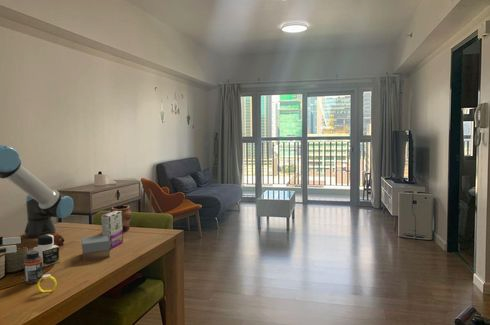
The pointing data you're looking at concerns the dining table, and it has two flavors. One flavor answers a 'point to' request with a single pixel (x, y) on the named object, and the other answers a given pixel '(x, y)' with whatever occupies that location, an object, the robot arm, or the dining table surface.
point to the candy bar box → (113, 228)
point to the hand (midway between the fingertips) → (18, 244)
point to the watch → (46, 278)
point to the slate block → (95, 243)
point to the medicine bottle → (47, 250)
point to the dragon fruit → (57, 239)
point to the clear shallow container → (96, 255)
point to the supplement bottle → (33, 267)
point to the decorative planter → (124, 215)
